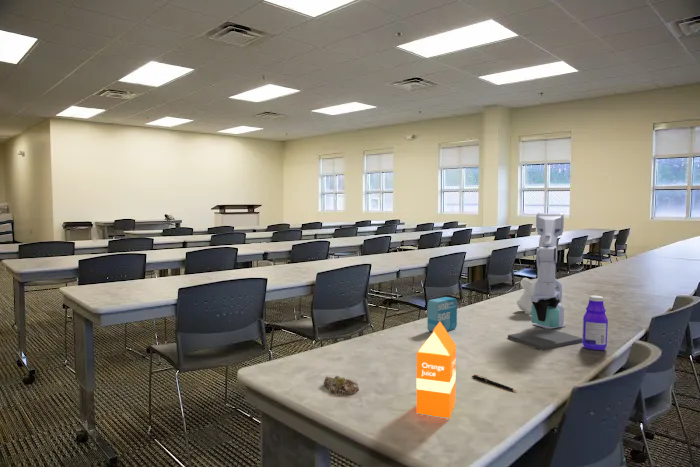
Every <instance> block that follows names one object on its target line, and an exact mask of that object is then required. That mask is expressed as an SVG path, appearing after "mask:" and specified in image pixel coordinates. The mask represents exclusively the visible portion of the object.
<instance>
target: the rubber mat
mask: <svg viewBox="0 0 700 467" xmlns="http://www.w3.org/2000/svg"><path fill="white" fill-rule="evenodd" d="M507 339H509V340H511V341H514V342H517V343H520V344H522V345H523V344H524V345H526V346H529V347H532V348H535V349H537V350H540V351H543V350H548V349H554V348H559V347H564V346H570V345H574V343H575V344H579V342H580V343H582V337H580V336H576V335H572V334H569V333H567V332H566V333H565V332H563V331H559V330H556V329H554V328H552V329H549V328H541V329H535V330H530V331H524V332H523V331H522V332H518V333H513V334H508V335H507Z"/></svg>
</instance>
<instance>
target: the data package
mask: <svg viewBox="0 0 700 467" xmlns="http://www.w3.org/2000/svg"><path fill="white" fill-rule="evenodd" d="M426 318H427V321H426V322H427V327H426V329H427V330H428V331H429V332H430V333H432V332H434V331H433V330H434V329H435V327H436V326H437V325H438V323H439V322H441V323H442V325H443V326H444V328H445V330H446V331H447V332H449V331H452V330H456V329H457V326H458V300H457V299H456V298H454V297H450V296H444V297H438V298H433V299H429V300H428V301H427V317H426Z"/></svg>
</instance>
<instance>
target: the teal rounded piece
mask: <svg viewBox="0 0 700 467" xmlns="http://www.w3.org/2000/svg"><path fill="white" fill-rule="evenodd" d="M559 312H560V309H559V308H555V307H550V306H548V307H547V311H546V318H545V321H539V320H538V316H537V312H536V309H535V307H534V305H532V306H531V310H525V311H524V314H527V315H531V316H530V317H531V318H530V319H531V320H530V321H531V323H532V324H533V323H536V324H540V325H545V326H549V327H558V328H560V327H559Z"/></svg>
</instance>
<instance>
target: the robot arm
mask: <svg viewBox="0 0 700 467" xmlns="http://www.w3.org/2000/svg"><path fill="white" fill-rule="evenodd" d="M564 224H565V214H564V213H563V212H560V213H558V212H555V213H554V212H553V213H552V212H551V213H545V212H544V213H543V212H542V213H540V212H538V213H536V217H535V226H536V227H535V228H536V232H537V235H539V241H538V242H539V243H538V248H537V249H536V254H535V256H536V267H537V268H536V269H537V281H536V283H535V291H534V295H533V296H531V301H532V303H533V305H534V307H535V309H536V312H537V316H538V320H539V321H545V318H546V311H547V307H548V306H550V307H555V308H559V309H560V312H559V327H549V326H545V325H540V324H536V323H532V325H534V326H537V327H540V328H542V329H546V328H549V329H556V328H563V327H564V328H565V327H566V324H564V322H565V320H564V319H565V309H564V306H563V305H562V304H561V303H562V302H563V284H562V282H561V281H560V280H558V279H557V278H556V264H557V263H558V249H557V242H558V241H557V239H558V237H560V236H563V233H564Z"/></svg>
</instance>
